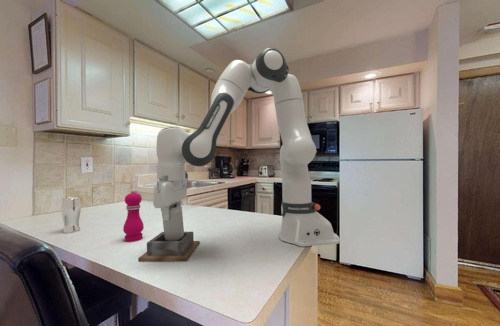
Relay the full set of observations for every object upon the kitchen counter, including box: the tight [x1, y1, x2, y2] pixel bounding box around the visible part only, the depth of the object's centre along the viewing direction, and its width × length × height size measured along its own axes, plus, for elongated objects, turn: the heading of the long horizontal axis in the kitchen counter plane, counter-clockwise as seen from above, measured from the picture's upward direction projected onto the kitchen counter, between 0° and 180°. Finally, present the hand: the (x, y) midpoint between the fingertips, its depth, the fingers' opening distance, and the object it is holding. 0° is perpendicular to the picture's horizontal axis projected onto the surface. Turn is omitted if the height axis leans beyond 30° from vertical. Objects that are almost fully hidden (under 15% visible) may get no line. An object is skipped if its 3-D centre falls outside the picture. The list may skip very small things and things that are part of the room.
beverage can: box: [161, 202, 185, 241], centre depth 74 cm, size 6×6×12 cm
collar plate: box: [137, 231, 201, 263], centre depth 74 cm, size 15×15×5 cm
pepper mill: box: [122, 188, 145, 243], centre depth 88 cm, size 7×7×20 cm
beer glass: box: [60, 196, 82, 234], centre depth 100 cm, size 7×7×15 cm
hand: (172, 216), depth 74 cm, fingers open, 8 cm apart
